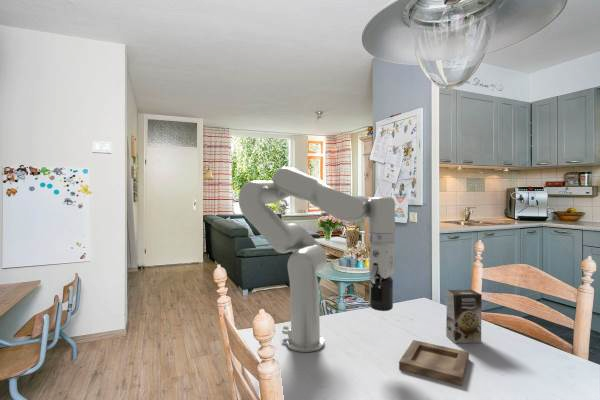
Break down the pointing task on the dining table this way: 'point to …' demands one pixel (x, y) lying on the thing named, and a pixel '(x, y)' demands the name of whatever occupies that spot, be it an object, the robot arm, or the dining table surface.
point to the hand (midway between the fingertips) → (381, 296)
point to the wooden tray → (435, 362)
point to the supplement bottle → (384, 296)
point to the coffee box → (463, 316)
